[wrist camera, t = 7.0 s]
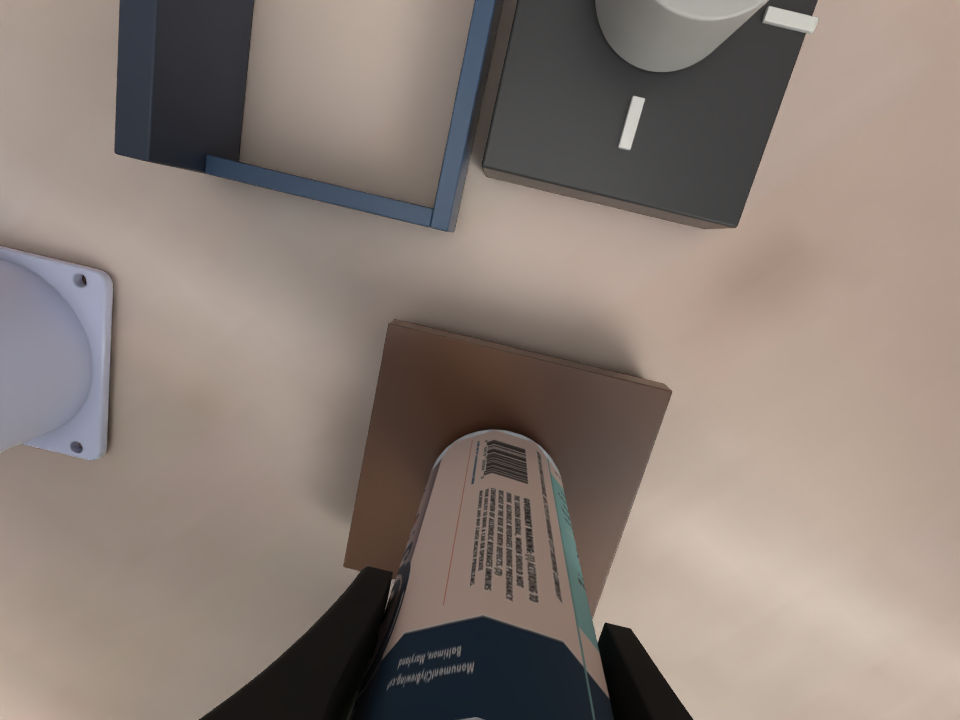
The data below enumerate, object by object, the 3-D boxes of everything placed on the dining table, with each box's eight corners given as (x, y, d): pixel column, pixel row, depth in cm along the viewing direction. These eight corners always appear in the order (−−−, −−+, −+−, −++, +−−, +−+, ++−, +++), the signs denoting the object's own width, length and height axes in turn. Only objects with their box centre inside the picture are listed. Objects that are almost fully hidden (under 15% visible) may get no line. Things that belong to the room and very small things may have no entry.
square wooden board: (358, 537, 21) (342, 567, 19) (400, 314, 19) (388, 323, 17) (582, 590, 21) (590, 626, 19) (656, 375, 19) (673, 391, 17)
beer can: (404, 469, 18) (215, 896, 6) (510, 398, 17) (515, 744, 5) (481, 563, 19) (438, 1096, 7) (586, 500, 18) (733, 993, 6)
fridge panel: (708, 230, 17) (743, 229, 15) (481, 175, 17) (477, 165, 15) (836, -145, 14) (907, -227, 12) (566, -210, 14) (579, -307, 12)
